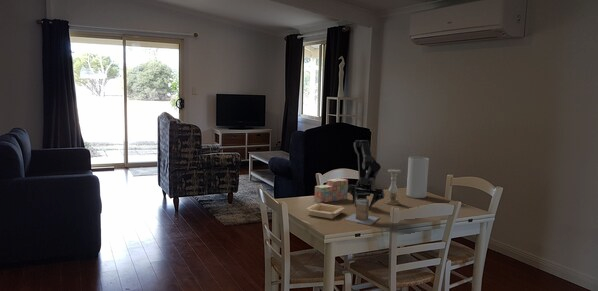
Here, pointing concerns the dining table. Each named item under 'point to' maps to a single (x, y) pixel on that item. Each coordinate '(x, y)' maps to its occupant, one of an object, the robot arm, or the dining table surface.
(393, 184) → the candle holder
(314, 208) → the carton
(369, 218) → the rubber mat
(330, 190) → the stack of blocks
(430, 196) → the dining table surface
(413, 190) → the cylinder vase
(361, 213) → the grey rectangular block
